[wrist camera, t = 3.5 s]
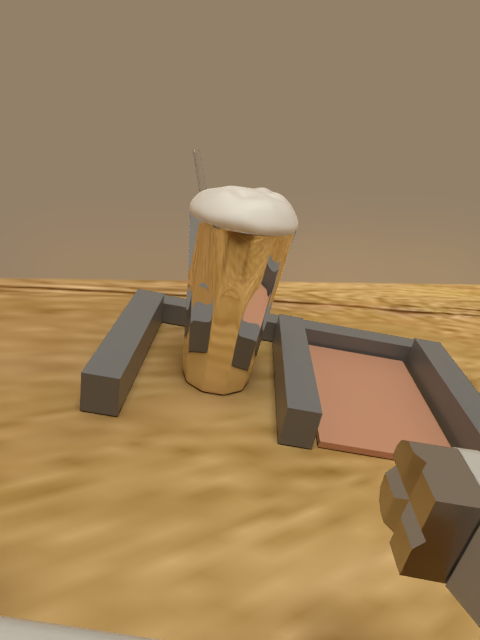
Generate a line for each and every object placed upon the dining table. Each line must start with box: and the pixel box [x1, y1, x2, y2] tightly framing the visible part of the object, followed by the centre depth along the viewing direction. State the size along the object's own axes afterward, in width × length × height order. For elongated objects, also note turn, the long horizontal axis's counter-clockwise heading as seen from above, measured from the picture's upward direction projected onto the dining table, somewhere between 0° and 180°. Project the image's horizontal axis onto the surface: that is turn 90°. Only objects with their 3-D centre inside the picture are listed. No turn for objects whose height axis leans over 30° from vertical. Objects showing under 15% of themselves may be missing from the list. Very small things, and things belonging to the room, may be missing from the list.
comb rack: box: [80, 289, 480, 460], centre depth 23 cm, size 18×10×2 cm, turn 88°
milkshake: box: [183, 150, 298, 395], centre depth 20 cm, size 4×5×10 cm
